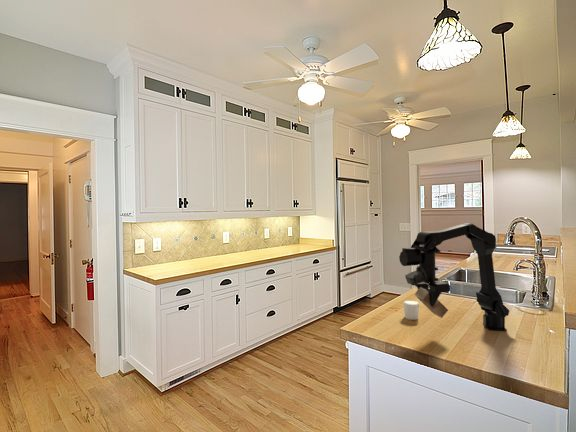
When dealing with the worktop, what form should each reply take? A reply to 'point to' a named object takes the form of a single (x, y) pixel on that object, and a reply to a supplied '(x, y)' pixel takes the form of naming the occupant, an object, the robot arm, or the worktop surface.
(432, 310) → the walnut block
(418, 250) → the robot arm
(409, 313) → the white cylinder
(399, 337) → the worktop surface
